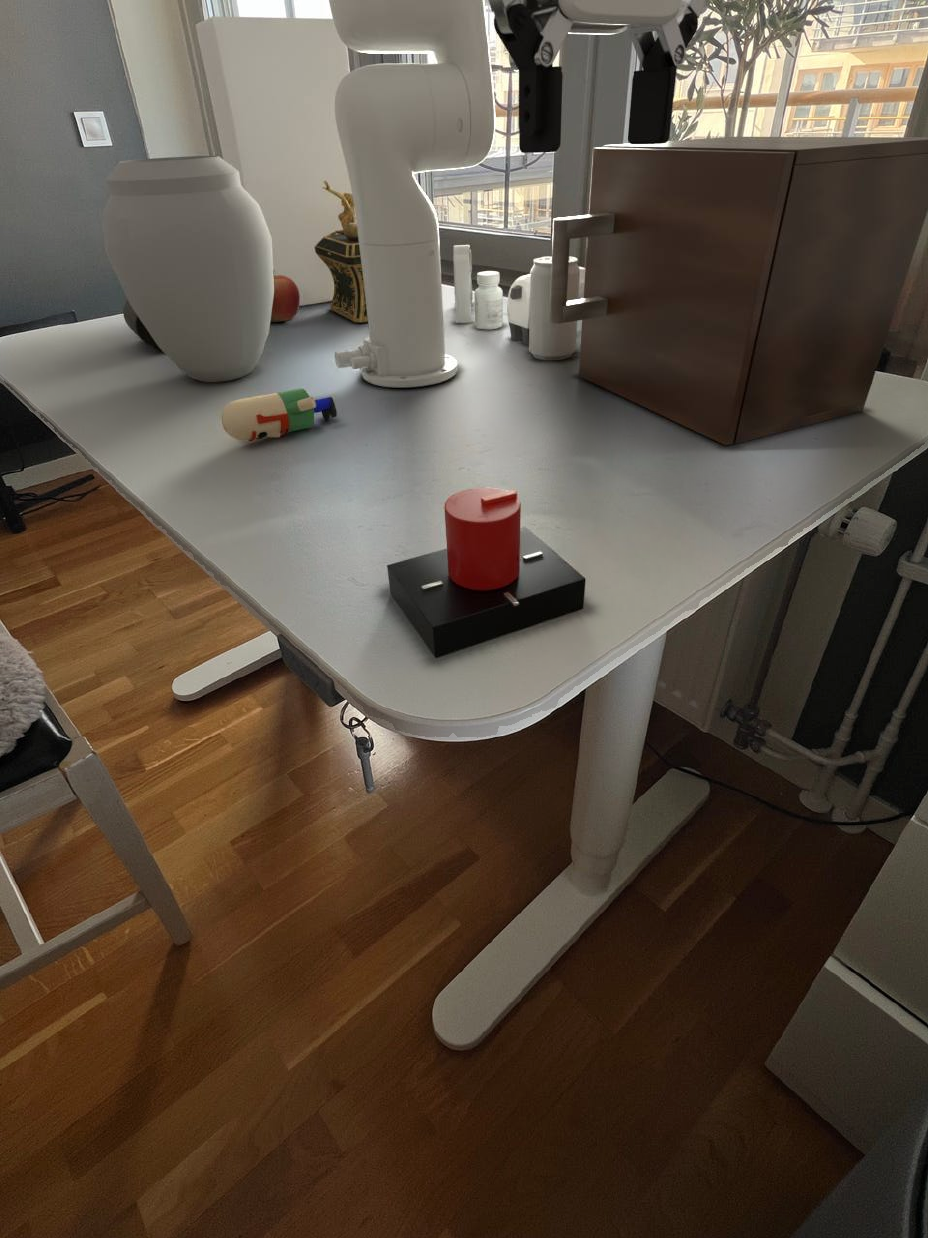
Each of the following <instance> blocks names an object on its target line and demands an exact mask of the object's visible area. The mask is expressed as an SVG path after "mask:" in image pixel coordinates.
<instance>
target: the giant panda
mask: <svg viewBox="0 0 928 1238" xmlns="http://www.w3.org/2000/svg"><path fill="white" fill-rule="evenodd" d="M577 265H578V266H579V268H580V281H579V298H578V299H584V283H585V268H586V267H583V266H580V265H581V264H580V262H579V261H578V262H577ZM506 312H507V321H508V326H509V331H510V339H511V340H514V341H520V340H522V343H523V345H528V346H529V327H530V273H528V274H525V275H520V276H519V277H517V278H516V279H515V280H514V282H513V283H512V284H511V285H510V288H509V291H508V293H507V306H506Z"/></svg>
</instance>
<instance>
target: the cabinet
mask: <svg viewBox="0 0 928 1238" xmlns="http://www.w3.org/2000/svg"><path fill="white" fill-rule="evenodd" d="M602 147H604V148H644V149H684V150H724V151H764V152H795V155H794V160H793V164H792V169H791V174H790V178H789V183H788V188H787V192H786V197H785V202H784V206H783V211H782V216H781V221H780V225H779V230H778V235H777V239H776V244H775V249H774V253H773V258H772V263H771V268H770V272H769V277H768V282H767V286H766V291H765V296H764V300H763V305H762V310H761V314H760V319H759V324H758V329H757V333H756V338H755V343H754V347H753V352H752V357H751V361H750V366H749V371H748V376H747V380H746V385H745V390H744V394H743V399H742V404H741V408H740V413H739V418H738V422H737V427H736V432H735V437H734V441H733V445H737V444H742V443H745V442H749V441H753V440H757V439H760V438H763V437H768V436H771V435H775V434H780V433H784V432H788V431H791V430H795V429H799V428H802V427H806V426H810V425H814V424H817V423H822V422H825V421H829V420H833V419H836V418H840V417H844V416H848V415H852V414H855V413H859V412H862V411H864V408H865V406H866V402H867V401H868V396H869V394H870V390H871V387H872V384H873V381H874V378H875V374H876V371H877V369H878V366H879V363H880V359H881V357H882V353H883V350H884V347H885V345H886V341H887V338H888V334H889V332H890V329H891V327H892V326H891V325H892V323H893V320H894V316H895V313H896V310H897V308H898V307H897V306H898V304H899V301H900V298H901V295H902V292H903V289H904V286H905V282H906V279H907V276H908V274H909V270H910V267H911V265H912V260H913V257H914V255H915V252H916V248H917V246H918V242H919V239H920V236H921V234H922V230H923V227H924V224H925V221H926V218H927V215H928V136H926V137H922V136H920V137H919V136H918V137H917V136H914V137H912V136H910V137H908V136H875V137H874V136H721V137H708V138H693V139H692V138H691V139H679V140H678V139H677V140H668V141H667V142H666V143H664V144H639V145H631V144H630V143H619V144H605V145H602Z"/></svg>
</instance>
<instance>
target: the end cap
mask: <svg viewBox="0 0 928 1238" xmlns="http://www.w3.org/2000/svg"><path fill="white" fill-rule="evenodd" d="M122 312H123V313H122V315H123V319H124V321H125V323H126V325H127V326H128V327H129V329H130V330H132V332H133V333H134V334H135V335H136V336H137V337H138V338H139V339H140V340H141V341H142V342H143V343H145V344H146V345H147V346H149V347H151V348H152V349H154V350H156V351H158V352H162V353H164V352H163V351H162V350H161V349H160V348H159V346H158V345H157V344H156V342H155V341H154V339H153V338H152V336H151V335H150V333H149V332H148V330H147V329H146V327H145V326H144V324H143V323H142V322H141V320H140V319H139V317H138V316H137V314H136V313H135V311H134V310H133V308H132V307H131V305H130V303H129V301H128V299H127V300H126V301H125V303H124V305H123V309H122Z"/></svg>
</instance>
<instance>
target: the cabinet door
mask: <svg viewBox="0 0 928 1238" xmlns="http://www.w3.org/2000/svg"><path fill="white" fill-rule="evenodd" d="M794 155H795V152H764V151H724V150H684V149H644V148H604V147H603V146H601V147H600V146H599V147H593V148H592V161H591V174H590V176H591V177H590V190H589V191H590V192H589V204H588V205H589V207H588V209H589V210H588V214H583V215H582V214H581V215H572V216H565V217H564V216H563V217H555V218H553V219H552V220H553V222H552V245H551V246H552V248H551V256H552V271H551V298H550V323H554V324H560V323H566V322H572V321H577V322H578V321H581V331H580V332H581V333H580V346H579V347H580V348H579V361H578V362H579V363H578V377H580V378H582V379H584V380H586V381H589V382H590V383H593V384H595V385H596V386H599V387H601V388H603V389H605V390H607V391H609V392H611V393H614V394H616V395H617V396H620V397H623V398H625V399H627V400H629V401H631V402H633V403H635V404H637V405H638V406H641V407H643V408H646V409H647V410H649V411H652V412H654V413H656V414H658V415H660V416H662V417H664V418H666V419H669V420H671V421H673V422H675V423H677V424H679V425H681V426H684V427H685V428H687V429H690V430H692V431H693V432H696V433H698V434H701V436H705V437H707V438H709V439H711V440H713V441H716V443H720V444H721V445H723V446H729V445H732V444H733V441H734V437H735V432H736V427H737V422H738V418H739V413H740V408H741V404H742V399H743V394H744V390H745V385H746V380H747V376H748V371H749V366H750V361H751V357H752V352H753V347H754V343H755V338H756V333H757V329H758V324H759V319H760V314H761V310H762V305H763V300H764V296H765V291H766V286H767V282H768V277H769V272H770V268H771V263H772V258H773V253H774V249H775V244H776V239H777V235H778V230H779V225H780V221H781V216H782V211H783V206H784V202H785V197H786V192H787V188H788V183H789V178H790V174H791V169H792V164H793V160H794ZM581 238H586V254H585V255H586V256H585V267H584V268H585V283H584V298H582V299H578V300H571V301H567V287H568V268H569V256H570V247H571V245H570V244H571V240H572V239H581ZM733 445H734V444H733Z"/></svg>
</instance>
